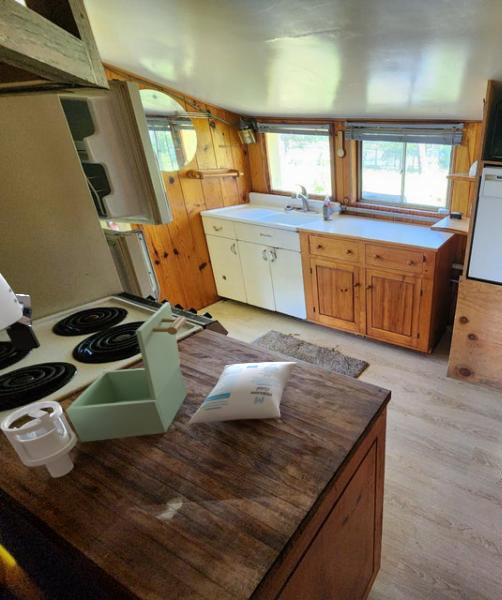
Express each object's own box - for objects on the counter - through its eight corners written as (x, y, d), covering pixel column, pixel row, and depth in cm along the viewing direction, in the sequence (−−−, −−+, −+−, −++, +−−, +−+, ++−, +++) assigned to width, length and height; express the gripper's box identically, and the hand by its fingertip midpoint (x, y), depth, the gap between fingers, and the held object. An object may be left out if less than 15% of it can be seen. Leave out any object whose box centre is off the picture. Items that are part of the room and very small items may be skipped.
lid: (135, 330, 60) (167, 331, 61) (165, 301, 71) (191, 302, 72) (151, 400, 66) (179, 399, 68) (176, 363, 78) (200, 363, 79)
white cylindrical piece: (54, 492, 58) (16, 430, 51) (25, 481, 59) (-15, 420, 53) (96, 459, 64) (67, 400, 58) (70, 450, 65) (38, 392, 59)
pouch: (222, 352, 85) (183, 404, 67) (297, 353, 87) (279, 403, 69) (226, 377, 88) (190, 434, 70) (298, 377, 90) (281, 431, 72)
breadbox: (81, 442, 67) (65, 410, 64) (116, 400, 79) (104, 370, 75) (165, 432, 70) (154, 401, 67) (187, 393, 82) (179, 365, 78)
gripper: (-29, 245, 51) (21, 338, 58) (-181, 287, 36) (-89, 406, 43) (28, 244, 53) (70, 335, 60) (-95, 284, 37) (-20, 400, 44)
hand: (3, 365), depth 51 cm, fingers open, 9 cm apart
